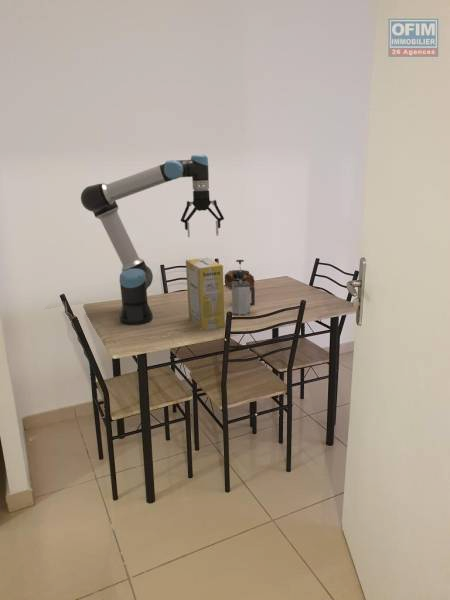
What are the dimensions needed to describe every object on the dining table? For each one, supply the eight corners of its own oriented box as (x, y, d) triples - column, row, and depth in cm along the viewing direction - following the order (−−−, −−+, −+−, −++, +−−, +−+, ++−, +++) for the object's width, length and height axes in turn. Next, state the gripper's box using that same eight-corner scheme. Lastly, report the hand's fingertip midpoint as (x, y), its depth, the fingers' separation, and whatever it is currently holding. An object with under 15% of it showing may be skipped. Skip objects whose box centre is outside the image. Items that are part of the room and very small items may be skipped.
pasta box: (189, 318, 219) (185, 260, 211) (209, 315, 223) (207, 257, 215) (202, 330, 203) (199, 268, 195) (224, 326, 207) (222, 265, 199)
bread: (254, 290, 262) (254, 273, 259) (237, 293, 257) (237, 275, 254) (240, 283, 278) (239, 267, 275) (223, 285, 274) (223, 269, 271)
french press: (254, 305, 235) (253, 261, 228) (237, 308, 231) (236, 263, 225) (243, 299, 245) (242, 256, 238) (227, 302, 242) (226, 258, 235)
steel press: (234, 316, 220) (233, 285, 216) (231, 310, 228) (230, 281, 224) (256, 314, 221) (255, 284, 217) (252, 309, 229) (252, 279, 225)
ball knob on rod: (237, 301, 221) (236, 270, 216) (236, 298, 224) (235, 269, 220) (245, 300, 221) (245, 270, 217) (244, 298, 225) (243, 268, 220)
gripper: (174, 191, 209) (177, 238, 215) (228, 189, 212) (230, 235, 218) (173, 190, 216) (176, 236, 223) (226, 188, 219) (228, 233, 226)
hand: (203, 236), depth 221 cm, fingers open, 13 cm apart
